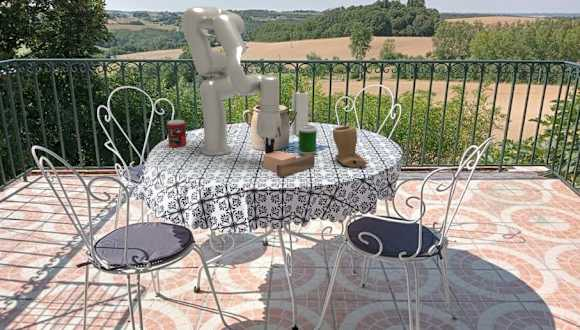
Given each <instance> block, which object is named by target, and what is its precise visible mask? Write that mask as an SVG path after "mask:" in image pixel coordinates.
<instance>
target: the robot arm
mask: <svg viewBox="0 0 580 330" xmlns="http://www.w3.org/2000/svg"><path fill="white" fill-rule="evenodd" d="M245 26H246V25H245V21H244V19H243V18H242V17H241V16H240V15H238V14H237V13H234V12H232V11H229V10H225V9H222V8H220V7H217V6H192V7H189V8H187V9H186V10H185V11H184V13H183V15H182V17H181V29H182V33H183V35H184V37H185V40H186V42H187V44H188V46H189V51H190V54H191V58H192V60H193V64H194V66H195V67H194V68H195V69H196V71H197V73H198V74H199V75H200V76H202V77H210V76H214V77H212V78H207V79H205V80H203V81H202V82H201V84H200V86H199V89H198V90H199V97H200V100H201V106H202V113H203V116H202V117H203V130H204V131H203V133H204V136H203V137H204V140H201V144H202V145H203V147H202V148H201V153H202V155H207V156H222V155H228V154H230V153H231V151H232V149H231V147H230V146H228V137H227V136H228V132H227V113H226V107H225V105H224V103H223V101H224V100H227V99H231V98H233V97H234V96H235V95H236V94H237V93H238V95H242V96H249V95H253V94H259V104H258V105H259V110H258V113H257V118H256V135H257V136H259V137H260V138H261V139H263V143H264V146H265V147H264V148H265V149H264V150H265V151H264V153H265V154H269V153H272V152H275V150H274V149H275V147H274V146H275V143H277V142H281V138H280V137H282V118H281V113H280V79H279V77H278V76H276V75H265V74H261V73H253V74H252V73H251V74H246V73H245V71H244V70H243V67H242V63H241V58H242V55H243V54H244V53H245V52H246V50H247V45H246V43H245V42H244V40H243V38H242V36H241V35H242V34H243V33H244V31H245V28H246V27H245ZM203 29H212V30H213V31H214V32H213V33H214V34H215V36H216V38H217V40H218V42H219V44H220V45H221V48H222V50H223V51H224V52H222V51H213V49H212V47H211V43H210V40H209V38H208V37H207V35H206V34H205V33H204V32H203Z"/></svg>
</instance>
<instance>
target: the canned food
mask: <svg viewBox="0 0 580 330" xmlns="http://www.w3.org/2000/svg"><path fill="white" fill-rule="evenodd" d="M166 125H167V126H166V127H167V137H168V145H169V147H172V148H181V147H185V146H186V145H187V131H186V121H185V120H183V119H172V120H168V121H167V123H166Z"/></svg>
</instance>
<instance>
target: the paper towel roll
mask: <svg viewBox="0 0 580 330" xmlns="http://www.w3.org/2000/svg"><path fill="white" fill-rule="evenodd" d="M309 94H310V93H309V92H308V91H296V92H295V91H294V92H291V110H292V109H295V110H296V112H297V115H296V118H295V120H294V122H293V123H292V122H291V135H296V136H298V137H299V128H300V127H301V126H303V125H309V97H310V96H309Z"/></svg>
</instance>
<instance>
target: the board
mask: <svg viewBox="0 0 580 330" xmlns="http://www.w3.org/2000/svg"><path fill="white" fill-rule="evenodd" d="M315 156H316V155H315V154H314V155H310V154H308V155H301V156H299V157H297V158H295V159H292V160H289V161H286V162H282V163H279V164H277V172H276V176H277V177H280V178H285V177H288V176H290V175H293V174H296V173H299V172H302V171H304V170H307V169H311V168H314V167H315V158H316V157H315Z"/></svg>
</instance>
